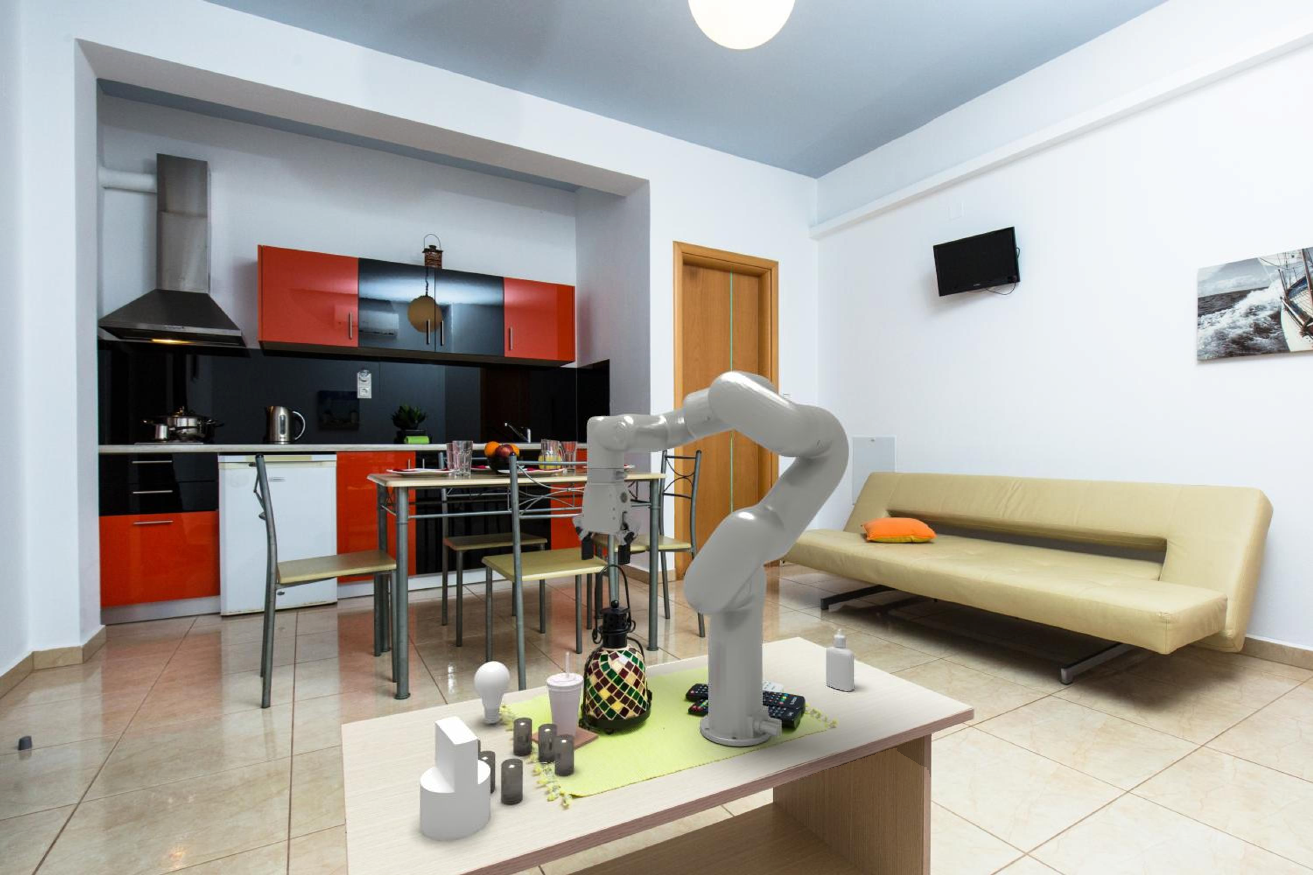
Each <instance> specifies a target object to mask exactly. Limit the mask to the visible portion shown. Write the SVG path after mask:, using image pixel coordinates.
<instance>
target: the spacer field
mask: <svg viewBox="0 0 1313 875" xmlns="http://www.w3.org/2000/svg"><path fill="white" fill-rule="evenodd" d="M512 724H513V726H512V728H513V733H512V734H513V739H512V740H513V743H512V744H513V747H512V749H513V752H512V753H513V755H514V756H515V757H526V756H529V755H531V754H532V753H533V741H532V734H533V719H532V718H530V717H523V716H522V717H518V718H516V719H514V720H513V722H512ZM537 729H538V730H537V732H538V744H537V749H538V750H537V752H538V753H537V756H538V757H537V758H538V759H537V760H539V761H540V762H547V763H548V764H552V763H551V762H553V763H554V774H555V775H556V774H557V775H556V776H558V775H559V776H558V777H568V776H571V775H572V774H574V772H575V750H574V736H572V735H569V734H563V735H559V736H557V725H555V724H553V723H543V724H541V725H539V726H538V727H537ZM481 747H482V741H481V739H478V760H480V761H483V762H485V763H486V764H488V765H489V767H490V795H491V794H493V793H495V791H496V752H494V751H492V750H483V751H481V750H482V748H481ZM531 752H532V753H531ZM539 761H538V762H539ZM554 761H555V762H554ZM540 762H539V763H540ZM523 768H524V761H523V760H522V759H519V758H514V757H512V758H508V759H505V760H503V761H502V762H501V764H500V773H501V774H500V801H501V803H502V804H503V805H505V806H513V805H517V804H519V803H521V802H522V801H523V798H524V792H523V791H524V776H523V775H524V769H523Z"/></svg>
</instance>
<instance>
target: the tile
mask: <svg viewBox="0 0 1313 875" xmlns="http://www.w3.org/2000/svg"><path fill="white" fill-rule="evenodd" d="M598 738H599V734H597V733H595V732H593V731H589V730H587V729H585V728H582V727H579V726H577V730H576V736H575V738H574V751H575V750H576V749H579V748H581V747H583V746H584V745H585V746H586V745H587V744H588V743H590V742H592V741H595V740H596V739H598ZM533 742H534V743H535V744H537V745H538V731H537V732H535V733H532V743H533Z"/></svg>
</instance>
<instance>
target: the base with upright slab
mask: <svg viewBox="0 0 1313 875" xmlns="http://www.w3.org/2000/svg"><path fill="white" fill-rule="evenodd" d="M434 731H435V734H434V735H435V737H434V738H435V741H434V742H435V744H434V746H435V748H434V749H435V750H434V751H435V752H434V753H435V754H434V755H435V757H434V760H435V761H434V762H435V763H434V764H435V765H434V766H432V767H430V768H428V769H427V770H425V771H424V772H423V774H422V775H421V777H420V781H419V790H420V791H419V828H420V829H419V830H420V832H421V833H422V834H423V836H425V837H427V838H428V839H431V840H436V841H456V840H460V839H463V838H467V837H469V836H471V835H474V834H476V833H478V832H479V831H480V830H482V829H483V828H484V827H485V826H486V825H487V824H488V823H489V821H490V818H491V794H490V767H489V765H488V764H486V763H485V762H483V761H480V760H478V740H479V737H477V736H476V735H475V734H474V732H473V731H472V730H470V728H469V727H468V726H467V725H466V724H465V723H464V722H463V721H462V720H461V719H460V718H459V717H458V716H450V717H445V718H442V719H439V720H436V721H435V729H434Z"/></svg>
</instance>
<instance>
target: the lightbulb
mask: <svg viewBox="0 0 1313 875" xmlns="http://www.w3.org/2000/svg"><path fill="white" fill-rule="evenodd" d="M510 681H511V674H510V671H509V670H508V668H507V666H505V664H503V663H502V662H499V661H488V662H486V663H484V664H482V665H481V666H480V667H479V668H478V669H477V671H475V674H474V679H473V686H474V690H475V691H476V693H477V695H478V696H479V697H480V699H481V703H482V706H483V708H484V711H483V713H484V714H483V715H484V722H485V723H486V724H488V725H494V724H496V723H498V722H499V721H500V720H501V718H500V714H501V713H500V707H501V705H502V701H503V697H504V695H505V693H506V691H507V690H508V688H509V686H510V684H511V683H510Z"/></svg>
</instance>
